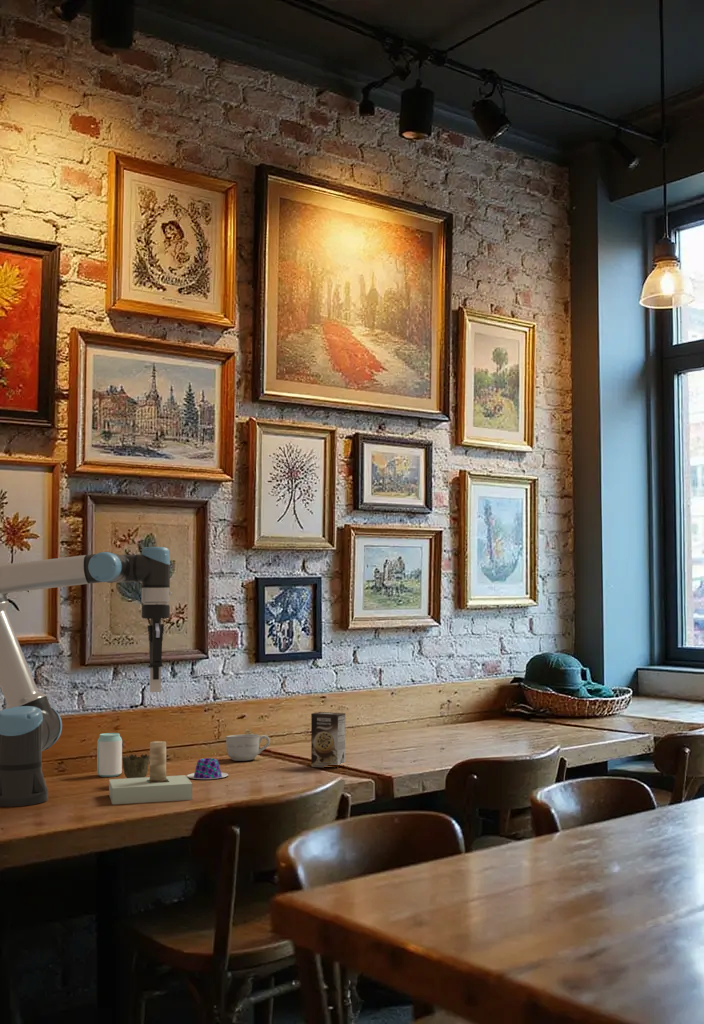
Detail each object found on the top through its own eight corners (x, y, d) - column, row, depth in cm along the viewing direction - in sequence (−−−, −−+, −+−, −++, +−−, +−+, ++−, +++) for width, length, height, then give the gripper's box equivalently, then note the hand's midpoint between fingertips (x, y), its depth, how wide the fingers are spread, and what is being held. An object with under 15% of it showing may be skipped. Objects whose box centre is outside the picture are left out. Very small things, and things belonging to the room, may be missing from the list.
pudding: (236, 778, 306) (236, 759, 306) (200, 782, 298) (200, 764, 299) (214, 773, 315) (214, 755, 316) (178, 777, 308) (178, 759, 308)
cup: (152, 782, 298) (152, 753, 298) (144, 787, 290) (145, 757, 291) (126, 782, 298) (126, 753, 299) (118, 787, 291) (118, 757, 292)
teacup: (223, 762, 333) (223, 736, 334) (228, 757, 344) (228, 732, 345) (267, 762, 333) (267, 736, 333) (271, 757, 344) (271, 732, 344)
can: (116, 772, 316) (117, 731, 317) (125, 775, 310) (125, 734, 311) (93, 775, 312) (94, 733, 313) (101, 778, 306) (102, 736, 307)
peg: (150, 798, 274) (150, 743, 275) (148, 795, 278) (148, 741, 279) (167, 797, 275) (167, 742, 276) (165, 794, 279) (165, 740, 280)
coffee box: (310, 767, 323) (310, 713, 324) (319, 764, 329) (318, 711, 330) (337, 768, 319) (337, 714, 321) (346, 765, 325) (345, 712, 327)
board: (112, 804, 266) (112, 788, 267) (108, 794, 280) (109, 779, 280) (192, 799, 272) (192, 783, 272) (185, 790, 285) (185, 775, 286)
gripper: (172, 603, 283) (172, 693, 281) (167, 603, 295) (166, 689, 293) (143, 604, 281) (143, 694, 279) (139, 603, 293) (139, 690, 291)
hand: (155, 691), depth 286 cm, fingers closed
